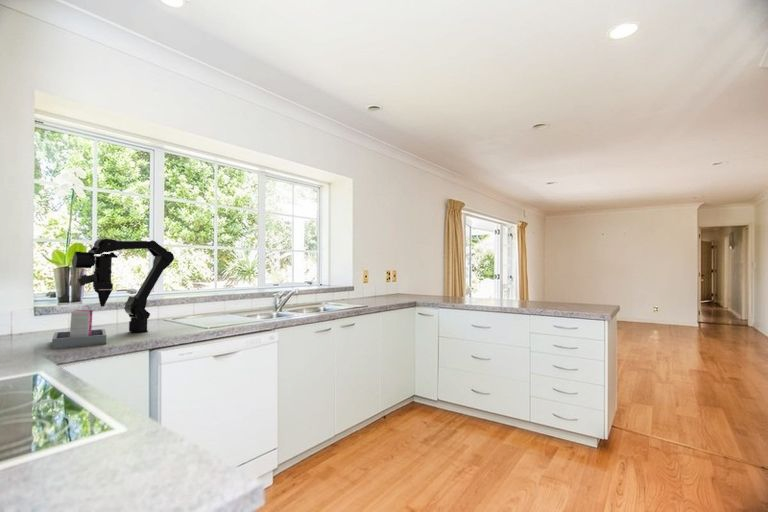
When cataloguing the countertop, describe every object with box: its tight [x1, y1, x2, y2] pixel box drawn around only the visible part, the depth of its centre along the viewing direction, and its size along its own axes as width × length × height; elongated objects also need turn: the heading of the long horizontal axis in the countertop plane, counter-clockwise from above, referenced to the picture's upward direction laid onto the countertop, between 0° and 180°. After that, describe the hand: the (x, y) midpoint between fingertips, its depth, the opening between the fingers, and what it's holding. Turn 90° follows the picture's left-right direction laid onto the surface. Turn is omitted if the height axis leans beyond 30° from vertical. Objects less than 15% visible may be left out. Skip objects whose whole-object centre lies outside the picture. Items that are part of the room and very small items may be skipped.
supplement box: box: [69, 309, 93, 337], centre depth 154 cm, size 6×6×12 cm
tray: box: [51, 328, 108, 350], centre depth 154 cm, size 16×16×4 cm
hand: (101, 305), depth 168 cm, fingers open, 9 cm apart
